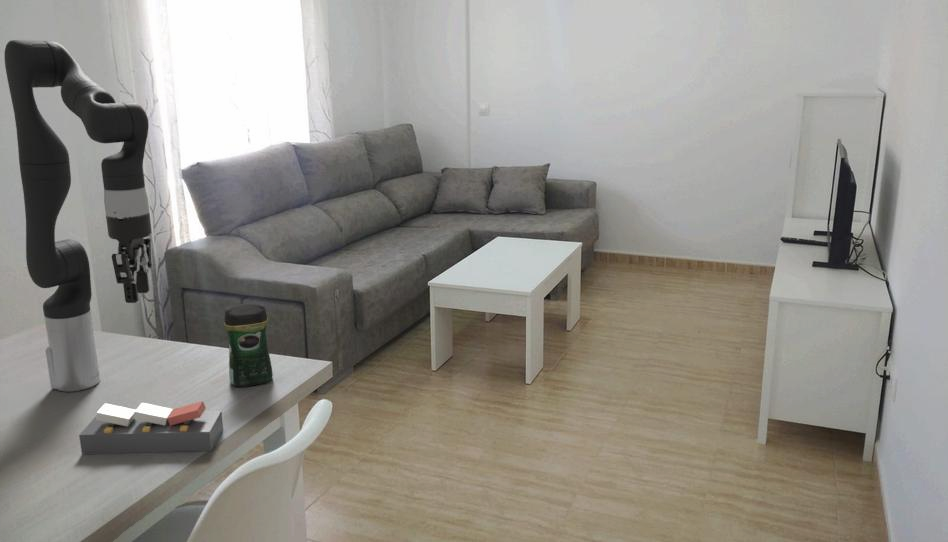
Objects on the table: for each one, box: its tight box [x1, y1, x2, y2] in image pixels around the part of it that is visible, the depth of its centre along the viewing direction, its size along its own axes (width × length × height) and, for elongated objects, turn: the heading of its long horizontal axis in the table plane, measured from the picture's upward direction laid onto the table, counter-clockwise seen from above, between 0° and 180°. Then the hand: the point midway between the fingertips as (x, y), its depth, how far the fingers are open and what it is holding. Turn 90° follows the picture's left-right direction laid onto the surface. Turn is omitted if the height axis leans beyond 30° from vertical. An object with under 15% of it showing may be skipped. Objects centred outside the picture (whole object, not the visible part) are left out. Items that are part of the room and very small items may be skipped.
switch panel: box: [78, 410, 224, 455], centre depth 151 cm, size 24×9×5 cm, turn 93°
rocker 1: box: [95, 402, 136, 426], centre depth 150 cm, size 6×4×2 cm, turn 94°
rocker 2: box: [133, 402, 174, 426], centre depth 150 cm, size 6×4×2 cm, turn 94°
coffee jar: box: [223, 301, 274, 388], centre depth 178 cm, size 10×8×19 cm
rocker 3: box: [167, 401, 207, 425], centre depth 151 cm, size 6×4×2 cm, turn 93°
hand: (137, 297), depth 151 cm, fingers open, 5 cm apart
